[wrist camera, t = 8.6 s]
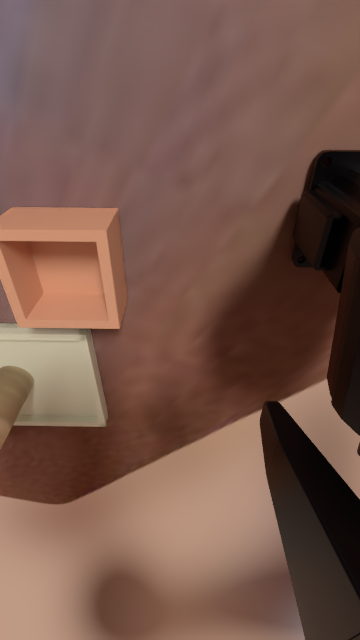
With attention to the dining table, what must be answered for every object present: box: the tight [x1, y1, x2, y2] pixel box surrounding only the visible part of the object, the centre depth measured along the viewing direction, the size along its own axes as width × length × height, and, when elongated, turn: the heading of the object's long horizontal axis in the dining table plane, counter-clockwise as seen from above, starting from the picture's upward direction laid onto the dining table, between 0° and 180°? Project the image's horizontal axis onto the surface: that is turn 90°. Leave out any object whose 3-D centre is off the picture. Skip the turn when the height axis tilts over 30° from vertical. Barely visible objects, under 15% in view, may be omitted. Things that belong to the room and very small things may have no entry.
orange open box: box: [0, 207, 128, 329], centre depth 19 cm, size 6×6×4 cm
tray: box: [0, 323, 108, 427], centre depth 27 cm, size 14×11×1 cm
